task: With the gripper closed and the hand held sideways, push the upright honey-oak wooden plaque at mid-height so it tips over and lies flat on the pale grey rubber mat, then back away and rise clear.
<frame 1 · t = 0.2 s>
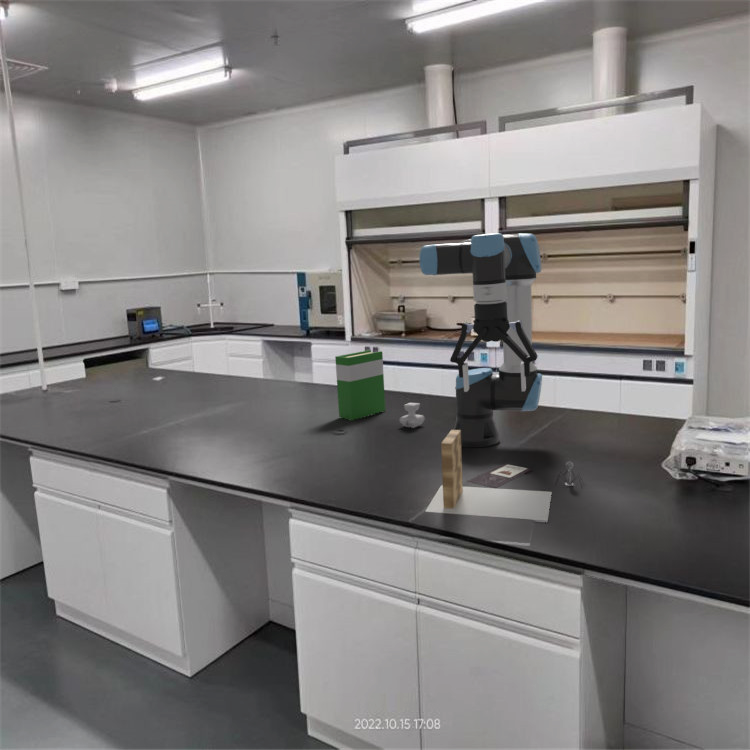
hand: (494, 390, 155), 27 cm above the worktop, tool pointing down, fingers open, 13 cm apart
mat: (490, 503, 157), on the worktop
bacteriophage: (569, 486, 166), on the worktop
plaque: (453, 499, 160), resting on mat
chocolate bar: (500, 479, 175), on the worktop
stamp: (412, 427, 231), on the worktop
hardback book: (362, 415, 252), on the worktop
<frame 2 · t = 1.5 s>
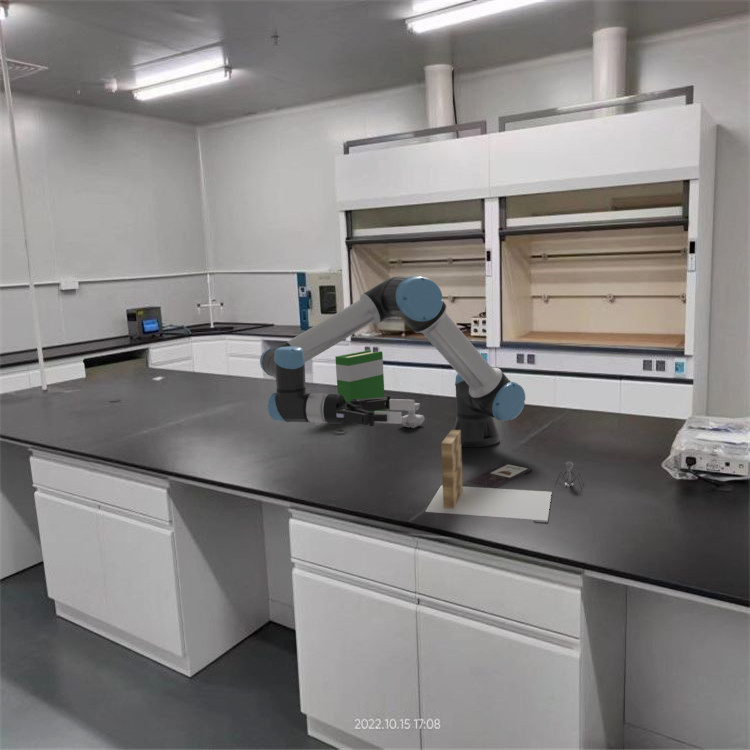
hand: (408, 411, 159), 23 cm above the worktop, tool horizontal, fingers open, 13 cm apart
nothing on the worktop moved.
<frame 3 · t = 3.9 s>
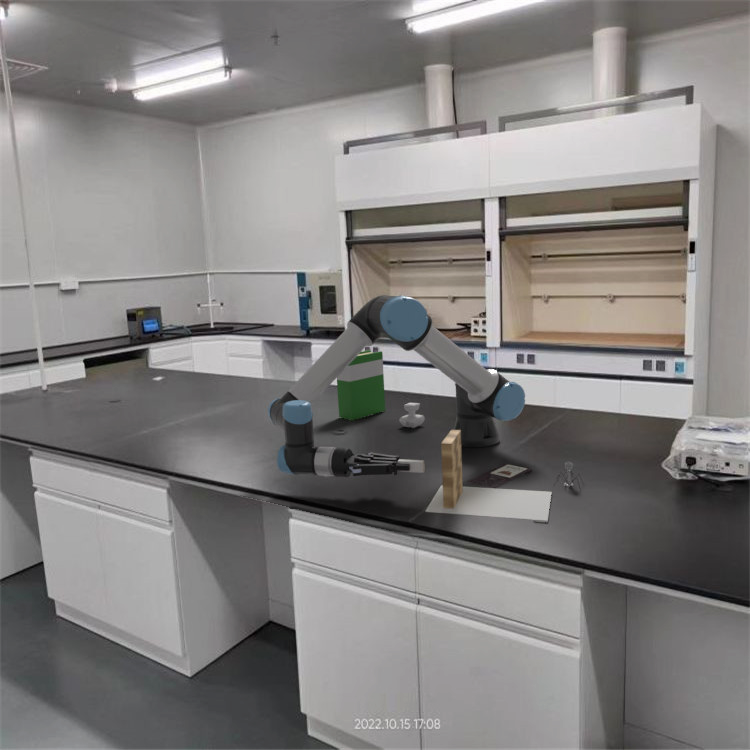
hand: (423, 466, 160), 8 cm above the worktop, tool horizontal, fingers closed
nothing on the worktop moved.
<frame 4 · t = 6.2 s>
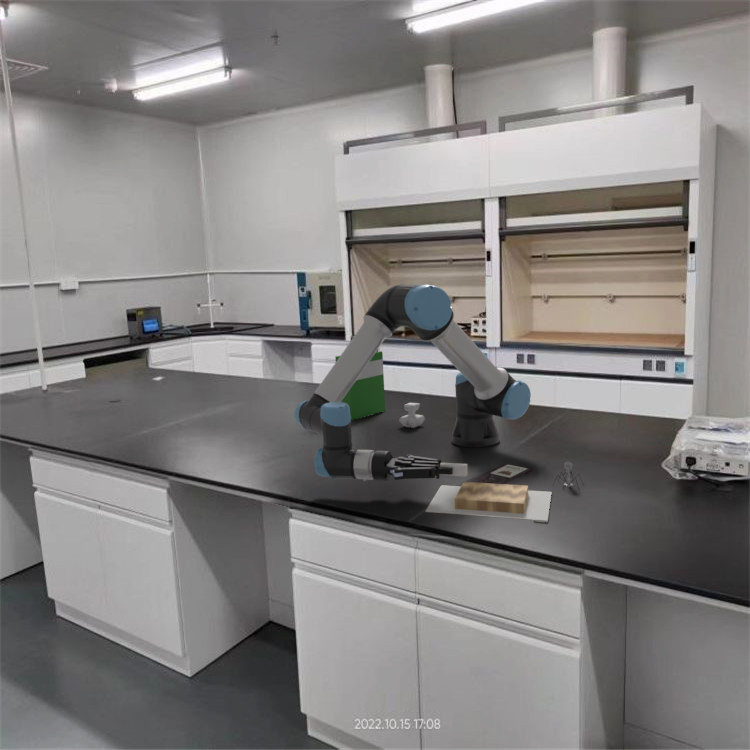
hand: (466, 470, 156), 8 cm above the worktop, tool horizontal, fingers closed
plaque: (459, 494, 159), point 2 cm above the worktop, tilted 90°, touching mat
everything else where it was.
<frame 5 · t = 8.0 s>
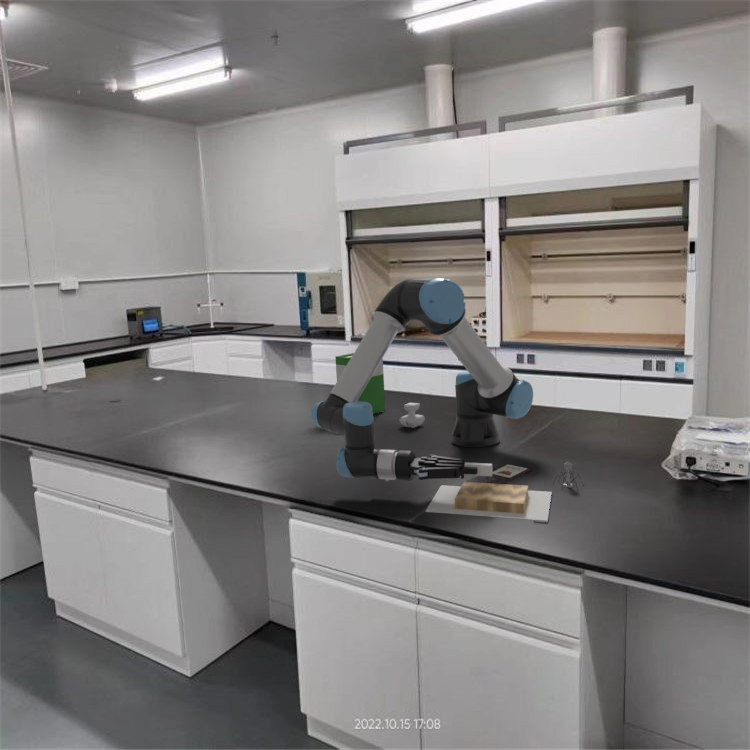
hand: (491, 470, 155), 8 cm above the worktop, tool horizontal, fingers closed
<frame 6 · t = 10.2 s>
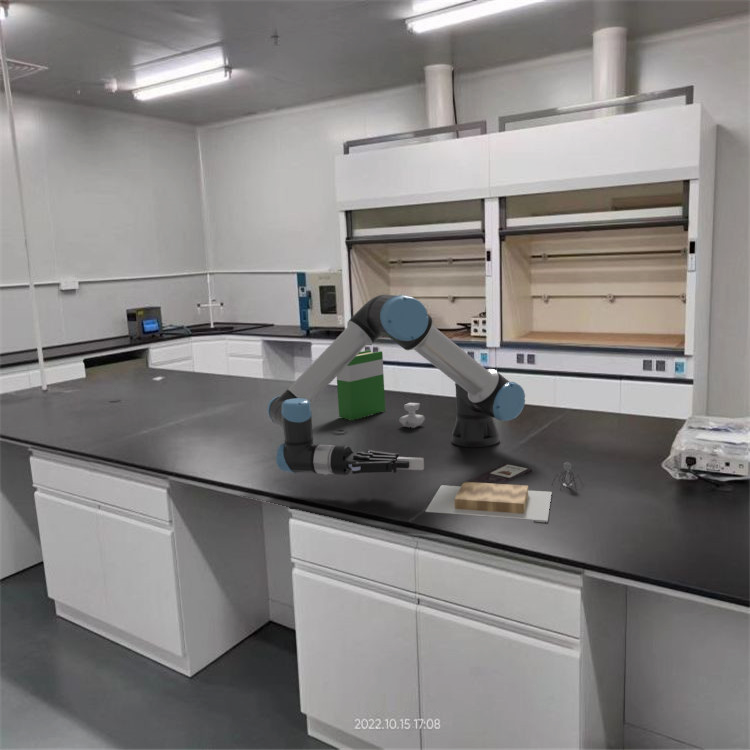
hand: (422, 464, 160), 9 cm above the worktop, tool horizontal, fingers closed
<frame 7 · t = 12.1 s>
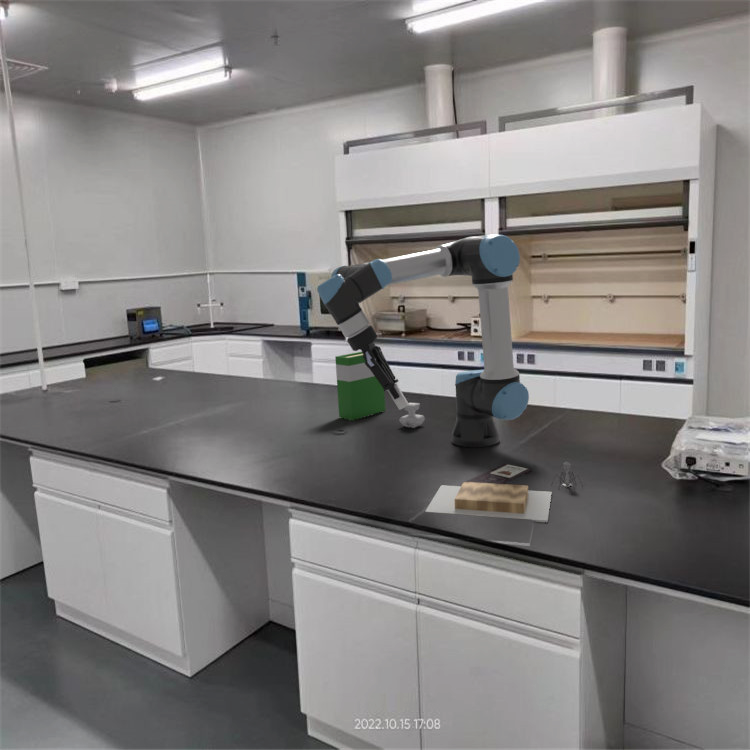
hand: (404, 406, 172), 21 cm above the worktop, tool tilted 30°, fingers closed
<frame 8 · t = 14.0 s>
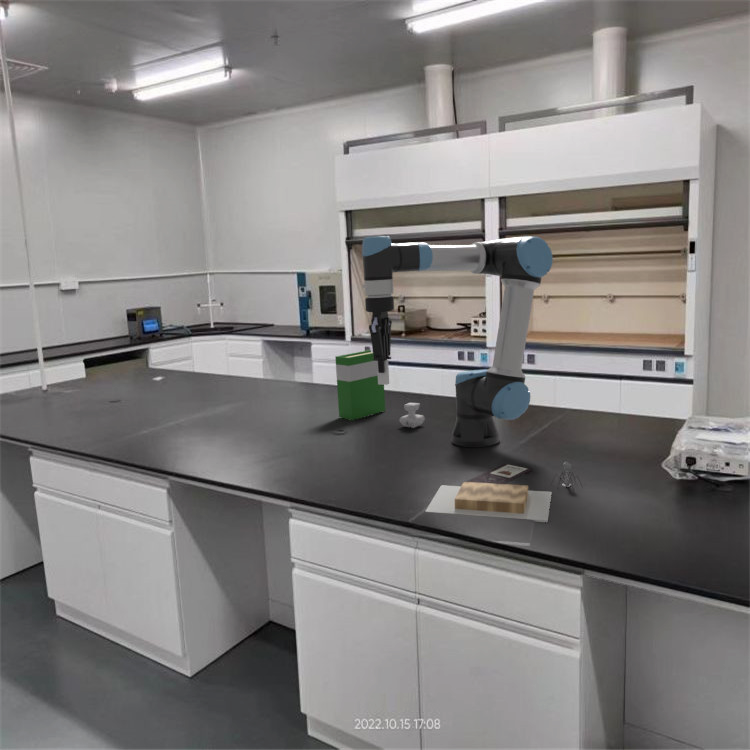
hand: (383, 383, 175), 26 cm above the worktop, tool pointing down, fingers closed
at the end: plaque tilted 90°; plaque touching mat; plaque inside the target area (7.0 cm from its centre), point 1.7 cm above the worktop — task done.
